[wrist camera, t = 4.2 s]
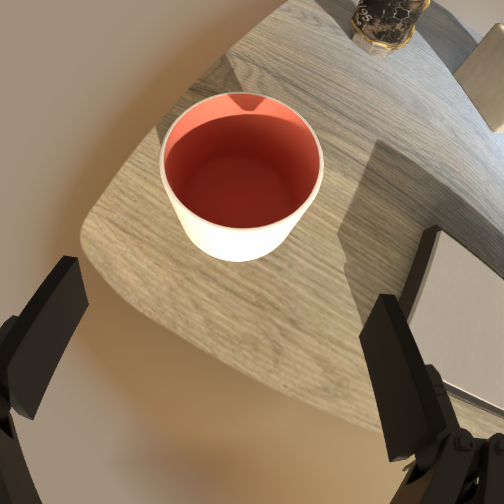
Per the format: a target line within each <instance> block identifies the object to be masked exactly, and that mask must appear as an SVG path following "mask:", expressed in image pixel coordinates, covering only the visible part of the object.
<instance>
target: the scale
mask: <svg viewBox="0 0 504 504" xmlns="http://www.w3.org/2000/svg"><path fill="white" fill-rule="evenodd" d="M398 303H399V305H400V307H401V310H402V312H403V314H404V316H405V318H406V321H407V323H408V325H409V327H410V330H411V332H412V334H413V337H414V339H415V341H416V344H417V346H418V349H419V351H420V354H421V356H422V358H423V361H424V363H425V364H432V365H433V366H434V367H435V368H436V369H437V371H438V372H439V373H440V375H441V378H442V380H443V383H444V387H445V388H446V391H447V394H448V395H450V396H453V397H455V398H457V399H459V400H461V401H464V402H466V403H468V404H470V405H473V406H475V407H477V408H479V409H482V410H484V411H486V412H489V413H491V414H493V415H495V416H498V417H500V418H502V419H504V278H502V277H501V276H500V275H499V274H498V273H497V272H495V271H494V270H493V269H492V268H491V267H490V266H488V265H487V264H486V263H485V262H484V261H482V260H481V259H480V258H479V257H478V256H476V255H475V254H474V253H473V252H471V251H470V250H469V249H468V248H466V247H465V246H464V245H463V244H461V243H460V242H459V241H457V240H456V239H455V238H454V237H452V236H451V235H450V234H448V233H447V232H446V231H444V230H443V229H442V228H440V227H439V226H437V225H435V226H433V227H431V228H429V229H427V230H425V231H424V232H423V235H422V238H421V241H420V244H419V247H418V251H417V254H416V256H415V259H414V262H413V265H412V268H411V271H410V274H409V276H408V279H407V282H406V284H405V287H404V290H403V292H402V295H401V297H400V300H399V302H398Z"/></svg>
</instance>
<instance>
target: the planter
mask: <svg viewBox="0 0 504 504" xmlns="http://www.w3.org/2000/svg"><path fill="white" fill-rule="evenodd" d="M453 76H454V77H455V79H456V80H457V81H458V83H459V84H460V85H461V87H462V88H463V90H464V91H465V92H466V94H467V95H468V97H469V98H470V100H471V101H472V102H473V104H474V105H475V107H476V108H477V110H478V111H479V113H480V114H481V116H482V117H483V119H484V120H485V122H486V123H487V125H488V126H489V128H490V129H491V131H492V132H493V133H502V132H504V24H501V23H497V24H495V25H494V26H493V27H492V28H491V30H490V31H489V32H488V33H487V34H486V36H485V37H484V38H483V39H482V40H481V42H480V43H479V44H478V45H477V46H476V47H475V49H474V50H473V51H472V52H471V53H470V55H469V56H468V57H467V58H466V59H465V61H464V62H463V63H462V64H461V65H460V66H459V68H458V69H457V70H456V71H455V72H454V73H453Z"/></svg>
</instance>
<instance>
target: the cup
mask: <svg viewBox="0 0 504 504" xmlns="http://www.w3.org/2000/svg"><path fill="white" fill-rule="evenodd" d="M159 167H160V174H161V179H162V182H163V185H164V187H165V190H166V192H167V194H168V196H169V198H170V201H171V203H172V205H173V207H174V209H175V211H176V214H177V216H178V218H179V220H180V222H181V224H182V226H183V228H184V230H185V232H186V234H187V235H188V237H189V238H190V239H191V240H192V242H193V243H194V244H195V245H196V246H197V247H199V248H200V249H201V250H203V251H204V252H206V253H207V254H209V255H211V256H214V257H216V258H219V259H223V260H228V261H247V260H252V259H256V258H259V257H261V256H263V255H265V254H267V253H269V252H271V251H272V250H274V249H275V248H276V247H277V246H278V245H280V244H281V242H282V241H283V240H284V239H285V238H286V236H287V235H288V234H289V232H290V231H291V230H292V228H293V227H294V226H295V224H296V223H297V222H298V220H299V219H300V217H301V216H302V215H303V213H304V212H305V211H306V209H307V208H308V207H309V205H310V204H311V202H312V201H313V199H314V198H315V196H316V194H317V192H318V190H319V188H320V185H321V181H322V177H323V169H324V162H323V153H322V149H321V146H320V142H319V140H318V138H317V136H316V134H315V132H314V130H313V129H312V127H311V126H310V125H309V123H308V122H307V121H306V120H305V119H304V118H303V117H302V116H301V115H300V114H299V113H298V112H297V111H296V110H294V109H293V108H292V107H290V106H289V105H287V104H285V103H283V102H282V101H279V100H277V99H275V98H272V97H270V96H266V95H263V94H258V93H252V92H228V93H222V94H217V95H214V96H211V97H208V98H206V99H203V100H201V101H199V102H197V103H195V104H194V105H192V106H190V107H189V108H188V109H186V110H185V111H184V112H183V113H182V114H181V115H180V116H179V117H178V118H177V119H176V120H175V121H174V122H173V124H172V125H171V127H170V128H169V130H168V131H167V133H166V135H165V137H164V140H163V143H162V146H161V151H160V159H159Z"/></svg>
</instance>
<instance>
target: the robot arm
mask: <svg viewBox="0 0 504 504" xmlns="http://www.w3.org/2000/svg"><path fill="white" fill-rule="evenodd" d="M88 305H89V303H88V300H87V296H86V292H85V288H84V284H83V280H82V276H81V271H80V267H79V262H78V258H77V257H70V256H63V257H62V258H61V259H60V261H59V262H58V263H57V265H56V266H55V267H54V268H53V270H52V271H51V272H50V274H49V275H48V276H47V277H46V279H45V280H44V282H43V283H42V284H41V285H40V287H39V288H38V290H37V291H36V293H35V294H34V295H33V297H32V298H31V299H30V301H29V302H28V304H27V305H26V306H25V308H24V309H23V311H22V312H21V314H20V315H19V317H18V316H14V315H13V316H12V317H10V318H9V319H8V320H7V321H5V322H4V323H3V325H2V326H1V328H0V504H42V502H41V500H40V498H39V496H38V493H37V490H36V488H35V486H34V483H33V481H32V478H31V476H30V473H29V470H28V467H27V465H26V462H25V459H24V456H23V453H22V450H21V447H20V444H19V440H18V437H17V433H16V430H15V426H14V423H13V419H12V416H11V414H10V412H9V411H10V409H11V407H13V409H14V410H15V411H16V412H17V413H18V414H19V415H22V416H24V417H26V418H28V419H31V420H33V419H34V417H35V414H36V412H37V410H38V407H39V405H40V403H41V400H42V398H43V396H44V393H45V391H46V389H47V386H48V384H49V382H50V380H51V378H52V376H53V373H54V371H55V369H56V367H57V365H58V363H59V361H60V359H61V357H62V354H63V353H64V350H65V348H66V347H67V345H68V343H69V341H70V338H71V337H72V335H73V333H74V331H75V329H76V327H77V325H78V323H79V322H80V320H81V318H82V316H83V314H84V312H85V311H86V309H87V307H88ZM359 339H360V342H361V346H362V349H363V353H364V356H365V360H366V364H367V368H368V371H369V375H370V379H371V383H372V387H373V391H374V395H375V399H376V403H377V407H378V411H379V416H380V420H381V425H382V429H383V434H384V438H385V443H386V448H387V452H388V458H389V462H395V461H400V460H406V459H407V458H409V457H410V456H411V455H413V454H415V458H416V459H415V460H414V461H413V462H411V463H410V464H408V465H407V466H405V467H404V469H403V470H402V471H406V470H407V469H409V471H408V472H407V474H406V476H405V478H404V480H403V481H402V483H401V485H400V487H399V489H398V490H397V492H396V494H395V496H394V497H393V499H392V501H391V502H390V504H504V434H502V433H496V434H494V435H493V436H491V437H490V438H489V439H481V438H473V436H472V435H471V433H470V432H469V431H467V430H466V429H463V428H460V426H459V424H458V421H457V418H456V415H455V412H454V409H453V407H452V404H451V401H450V398H449V396H448V395H447V391H446V388H445V387H444V383H443V380H442V378H441V375H440V373H439V372H438V371H437V369H436V368H435V367H434V366H433V365H432V364H425V363H424V361H423V358H422V356H421V354H420V351H419V349H418V346H417V344H416V341H415V339H414V337H413V334H412V332H411V330H410V327H409V325H408V323H407V321H406V318H405V316H404V314H403V312H402V310H401V307H400V305H399V303H398V301H397V299H396V297H395V295H391V294H380V295H379V297H378V299H377V301H376V303H375V305H374V307H373V309H372V311H371V313H370V316H369V318H368V320H367V322H366V324H365V326H364V328H363V330H362V331H361V333H360V335H359ZM477 478H479V481H478V484H477Z"/></svg>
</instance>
